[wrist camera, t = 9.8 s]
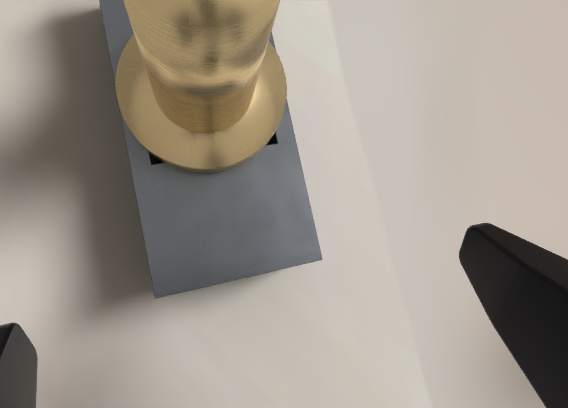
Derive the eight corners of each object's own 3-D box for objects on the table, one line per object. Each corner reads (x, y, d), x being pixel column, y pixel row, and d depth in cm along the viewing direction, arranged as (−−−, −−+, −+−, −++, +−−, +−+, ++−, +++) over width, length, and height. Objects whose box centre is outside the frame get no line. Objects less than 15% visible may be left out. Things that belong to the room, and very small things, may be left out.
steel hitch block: (302, 259, 22) (322, 259, 18) (164, 290, 21) (155, 298, 17) (243, -10, 23) (250, -64, 20) (110, 3, 22) (89, -53, 18)
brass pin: (264, 194, 22) (340, 110, 10) (128, 180, 21) (8, 63, 8) (274, 71, 23) (357, -156, 10) (145, 51, 22) (60, -230, 9)
